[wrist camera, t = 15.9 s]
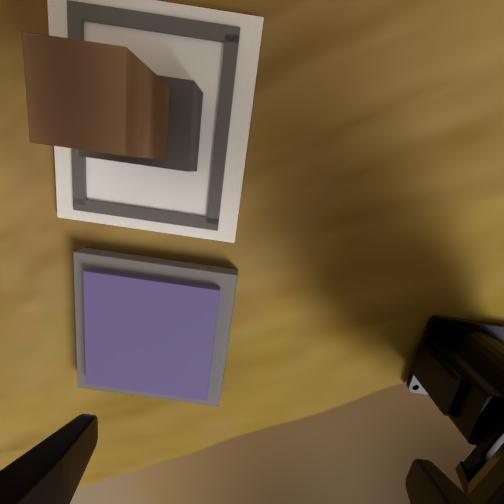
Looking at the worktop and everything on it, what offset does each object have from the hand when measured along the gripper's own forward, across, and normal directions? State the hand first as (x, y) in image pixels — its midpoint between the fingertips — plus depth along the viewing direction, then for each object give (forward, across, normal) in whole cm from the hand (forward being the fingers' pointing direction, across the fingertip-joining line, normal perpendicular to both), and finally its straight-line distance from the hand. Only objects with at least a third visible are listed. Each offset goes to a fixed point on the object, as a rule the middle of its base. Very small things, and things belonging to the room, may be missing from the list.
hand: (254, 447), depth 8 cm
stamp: (+13, +8, -9) cm, 17 cm away
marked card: (+13, +8, -9) cm, 18 cm away
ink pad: (+13, +7, +5) cm, 16 cm away
